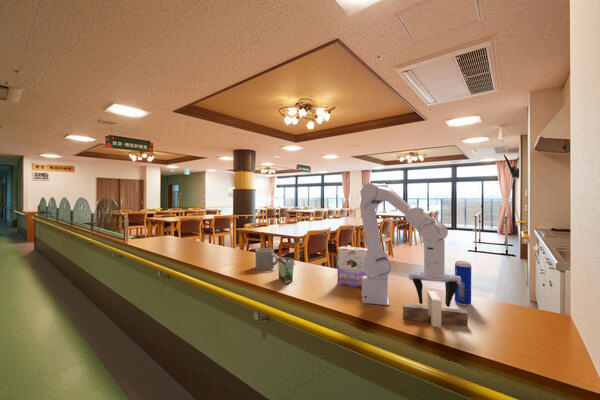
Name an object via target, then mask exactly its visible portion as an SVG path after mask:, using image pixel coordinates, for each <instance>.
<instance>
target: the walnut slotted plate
mask: <svg viewBox="0 0 600 400" xmlns="http://www.w3.org/2000/svg"><path fill="white" fill-rule="evenodd" d="M468 315H469V314H468V312H467V310H465V309H461V308H460V309H458V308H449V307H441V324H442V323H443V324H444V325H452V326H460V327H468V326H469V325H468V324H469V322H468V321H469V318H468V317H469V316H468ZM402 318H403V320H409V321H410V320H411V321H417V320H418V321H419V322H427V323H431V316H430V313H429V312H428V305H423V304H419V305H418V304H411V303H402Z"/></svg>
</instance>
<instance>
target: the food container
mask: <svg viewBox="0 0 600 400" xmlns="http://www.w3.org/2000/svg"><path fill="white" fill-rule="evenodd" d="M277 264H278V280H279V281H281V282H282V283H283V284H284V285H290V284H291V283H292V282H293V279H294V278H293V277H294V266H295V265H296V262H295V260H294V258H292V257H286V256H285V257H284V256H283V257H279V256H278V263H277Z"/></svg>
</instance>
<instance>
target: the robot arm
mask: <svg viewBox="0 0 600 400" xmlns="http://www.w3.org/2000/svg"><path fill="white" fill-rule="evenodd" d="M359 192H360V197H361V199H360V205H359V209H360V210H359V211H360V214H361V220H362V226H363V232H364V237H365V243H366V248H367V250H368V252H367V254H366V256H365V257H364V272H365V274H366V275H367V276H363V277H362V288H361V292H360V293H361V302H362V304H370V305H373V304H374V305H381V306H389V305H390V301H389V296H388V294H389V291H388V287H389V286H388V283H389V282H388V279H389V278H388V277H389V273H390V272H391V271H392V268H393V267H392V263H391V262H390V259H389V257H388V254H387V253H386V252H385V251H384V250H383V246H382V239H381V234H380V229H379V224H378V223H379V222H378V217H377V213H376V209H377V208H378V206H379V205H380V204H381V203H383V202H388V203H389V204H390V205H391V206H393V207H394V208H396V209H397V210H398V211H400V212H401V213H402V214H403V215H404V219H405V221H406V222H408V224H410V225H411V226H412V227H413V228H415V229H416V230H417V231H418V232H419V233H420V236H421V239H423V242H424V244H423V245H424V247H423V252H424V253H423V272H413V271H412V272H408V279H409V280H410V281H412V282H413V285H414V287H415V290H416V292H417V297H418V303H419V305H423V302H424V301H423V286H424V285H423V283H422V282H423V281H426V282H439V283H445V299H444V301H445V302H444V303H445V305H446V308H449V307H450V306H451V301H452V299H453V297H454V296H455V292H456V290H457V289H458V285H457V284H461V277H460V276H455V274H454V275H453V274H447V273H445V263H446V262H445V261H446V259H445V252H446V251H445V249H446V247H445V243H446V242H445V240H446V238H447V236H448V233H449V231H448V228H447V226H446V225H445V224H444V222H442V221H436V218H434V217H431V216H430V215H428V214H427V213H426V212H424V210H425V208H423V207H418V206H411V205H410V204H409V203H408V202H406V201H405V200H404V199H403V198H402V197H401V196H400V195H399V194H398V193H397V192H395V191H394V190H393V188H392V187H390V186H389V185H387V184H386V183H372V182H367V183H365V184H364V185H363V187H362V188H361V189H360V191H359Z"/></svg>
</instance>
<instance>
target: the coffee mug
mask: <svg viewBox="0 0 600 400" xmlns="http://www.w3.org/2000/svg"><path fill="white" fill-rule="evenodd" d="M278 257H279V256H278V255H277V254H276V253H275V250H274V248H271V247H269V248H268V247H262V248H256V249H255V269H256V270H257V271H270V270H273V269H274V268H275V266H277V264H278Z"/></svg>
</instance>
